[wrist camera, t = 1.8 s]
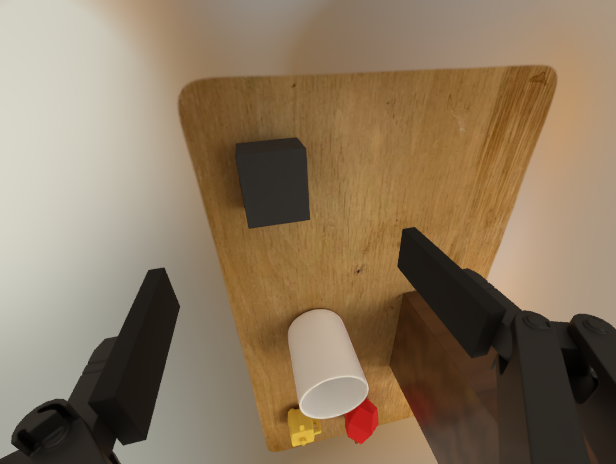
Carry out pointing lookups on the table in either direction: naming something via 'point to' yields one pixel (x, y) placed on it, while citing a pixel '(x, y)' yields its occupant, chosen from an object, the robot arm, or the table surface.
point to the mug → (325, 365)
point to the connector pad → (273, 181)
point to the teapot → (302, 427)
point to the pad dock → (447, 387)
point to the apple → (361, 421)
